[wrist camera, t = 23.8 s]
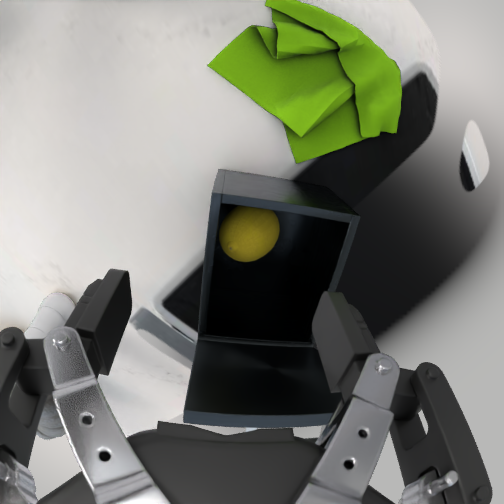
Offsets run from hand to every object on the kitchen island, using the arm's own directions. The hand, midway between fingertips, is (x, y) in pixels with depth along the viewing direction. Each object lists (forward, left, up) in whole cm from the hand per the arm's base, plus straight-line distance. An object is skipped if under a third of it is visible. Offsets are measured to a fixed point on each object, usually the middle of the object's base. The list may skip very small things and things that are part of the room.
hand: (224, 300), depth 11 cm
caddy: (+7, +5, -22) cm, 23 cm away
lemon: (+3, +5, -21) cm, 21 cm away
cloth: (-14, +7, -22) cm, 27 cm away
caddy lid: (+10, +5, -5) cm, 12 cm away
